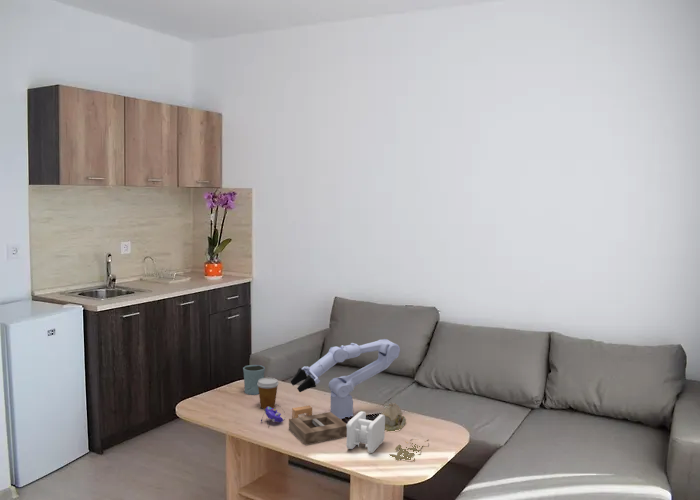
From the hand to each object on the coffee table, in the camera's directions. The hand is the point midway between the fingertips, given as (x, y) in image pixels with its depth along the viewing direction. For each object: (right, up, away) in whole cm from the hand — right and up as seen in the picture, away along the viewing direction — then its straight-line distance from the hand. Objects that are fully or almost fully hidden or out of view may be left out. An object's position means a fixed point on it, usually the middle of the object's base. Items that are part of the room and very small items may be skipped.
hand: (295, 387), depth 257 cm
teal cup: (-23, -11, +37) cm, 45 cm away
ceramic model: (+40, -17, +1) cm, 43 cm away
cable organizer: (+29, -19, -20) cm, 40 cm away
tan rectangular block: (+3, -15, +5) cm, 16 cm away
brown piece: (+10, -17, -9) cm, 22 cm away
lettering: (+47, -20, -21) cm, 55 cm away
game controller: (-10, -16, 0) cm, 18 cm away
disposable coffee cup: (-14, -13, +19) cm, 27 cm away
